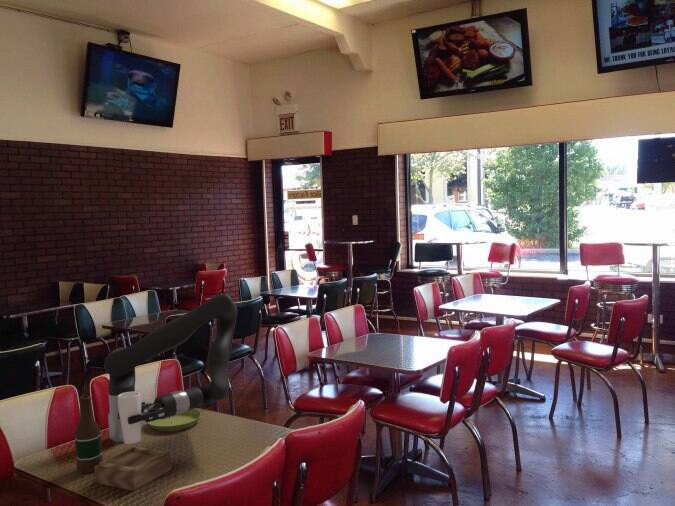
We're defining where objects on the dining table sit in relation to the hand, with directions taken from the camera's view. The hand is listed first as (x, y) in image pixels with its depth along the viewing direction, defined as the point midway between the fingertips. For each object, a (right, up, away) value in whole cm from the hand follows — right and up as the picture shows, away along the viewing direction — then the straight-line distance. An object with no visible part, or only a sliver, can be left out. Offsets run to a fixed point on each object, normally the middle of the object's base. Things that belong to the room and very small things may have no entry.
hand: (123, 418), depth 184 cm
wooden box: (+2, -19, +3) cm, 19 cm away
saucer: (+2, -16, +49) cm, 52 cm away
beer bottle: (-14, -19, +10) cm, 26 cm away
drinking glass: (+2, -8, +2) cm, 9 cm away
